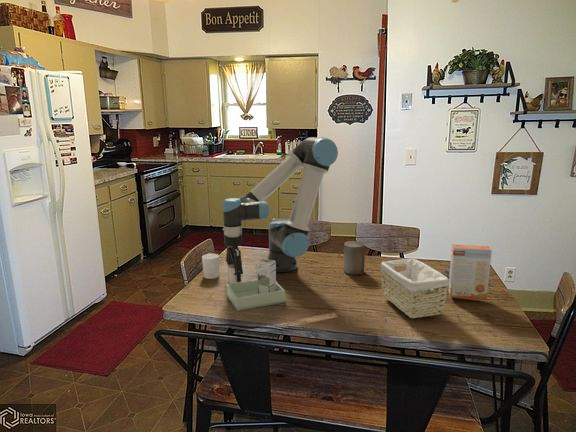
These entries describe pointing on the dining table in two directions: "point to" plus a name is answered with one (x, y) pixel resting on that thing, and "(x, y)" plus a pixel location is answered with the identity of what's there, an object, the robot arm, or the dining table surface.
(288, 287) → the dining table surface
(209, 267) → the white cup
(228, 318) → the dining table surface
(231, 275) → the spice jar
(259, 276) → the syrup box
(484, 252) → the cracker box
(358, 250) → the pillar candle
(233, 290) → the tote
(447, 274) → the house of cards
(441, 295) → the storage basket
